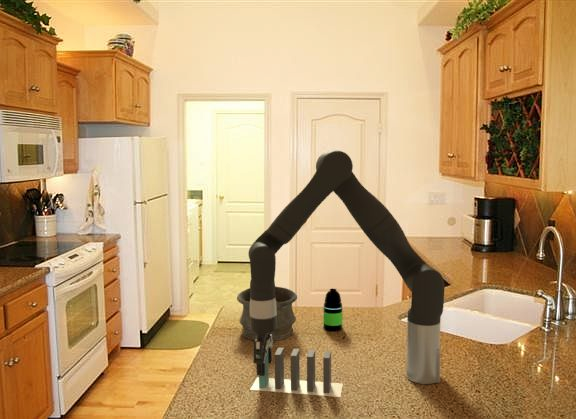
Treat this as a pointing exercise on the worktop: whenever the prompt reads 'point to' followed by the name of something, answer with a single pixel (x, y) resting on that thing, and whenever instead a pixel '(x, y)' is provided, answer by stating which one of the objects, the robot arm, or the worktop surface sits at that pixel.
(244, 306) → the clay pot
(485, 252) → the worktop surface
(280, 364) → the domino
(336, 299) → the bottle
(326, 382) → the domino
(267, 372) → the domino
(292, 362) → the domino
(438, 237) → the worktop surface
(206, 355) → the worktop surface
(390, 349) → the worktop surface
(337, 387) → the strip
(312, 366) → the domino
